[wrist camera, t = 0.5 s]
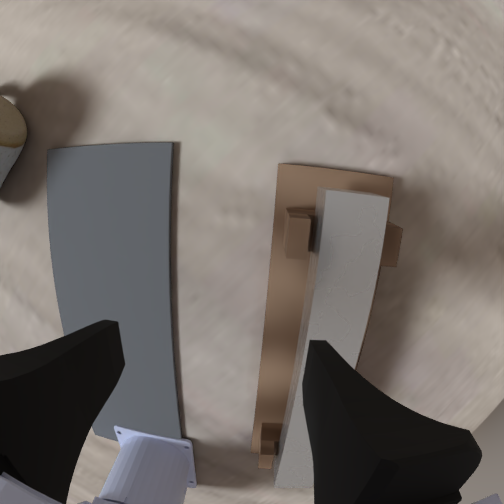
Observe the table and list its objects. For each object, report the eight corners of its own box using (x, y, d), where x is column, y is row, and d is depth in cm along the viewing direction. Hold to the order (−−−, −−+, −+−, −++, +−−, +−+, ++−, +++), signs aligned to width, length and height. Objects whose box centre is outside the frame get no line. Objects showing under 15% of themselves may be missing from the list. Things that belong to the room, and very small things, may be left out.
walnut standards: (325, 446, 24) (330, 483, 20) (251, 445, 25) (248, 482, 20) (387, 177, 18) (419, 181, 14) (278, 163, 18) (281, 162, 14)
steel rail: (309, 465, 21) (311, 487, 19) (274, 464, 21) (273, 487, 19) (372, 192, 15) (389, 198, 13) (317, 186, 15) (326, 190, 13)
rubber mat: (184, 453, 26) (183, 456, 25) (96, 432, 26) (95, 434, 26) (173, 142, 18) (171, 142, 18) (50, 149, 18) (47, 149, 18)
